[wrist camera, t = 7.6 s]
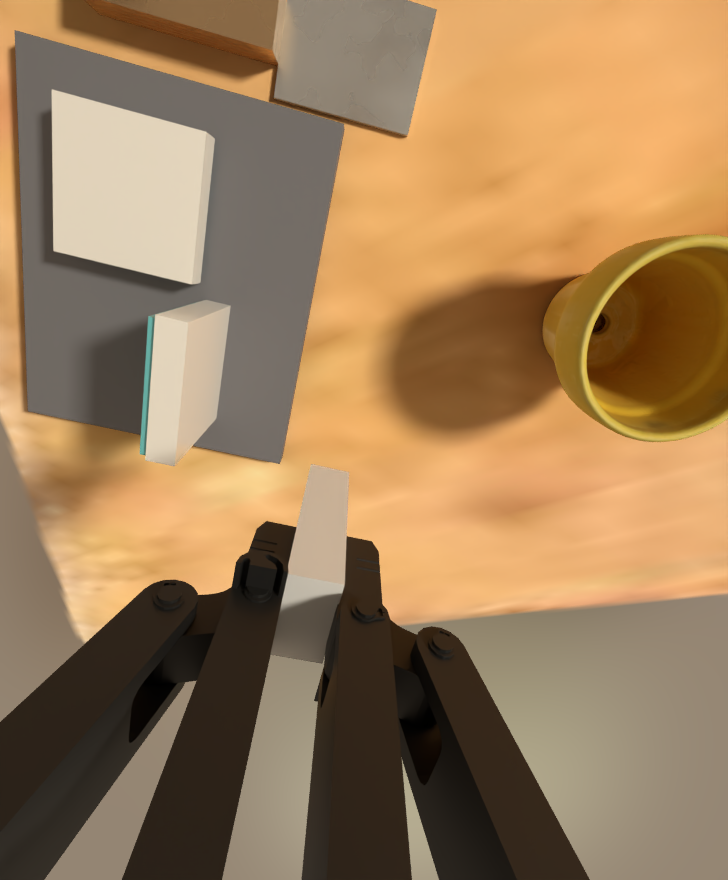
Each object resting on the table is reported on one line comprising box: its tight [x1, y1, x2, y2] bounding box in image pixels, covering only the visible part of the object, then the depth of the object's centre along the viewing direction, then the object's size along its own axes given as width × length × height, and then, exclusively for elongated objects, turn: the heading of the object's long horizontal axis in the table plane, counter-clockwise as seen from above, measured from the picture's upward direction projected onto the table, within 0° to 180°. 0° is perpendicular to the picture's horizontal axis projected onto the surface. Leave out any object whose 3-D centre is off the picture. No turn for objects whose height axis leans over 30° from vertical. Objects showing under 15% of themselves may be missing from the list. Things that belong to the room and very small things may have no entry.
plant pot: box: [542, 234, 728, 442], centre depth 27 cm, size 10×10×10 cm
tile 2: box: [140, 300, 231, 466], centre depth 28 cm, size 8×2×8 cm, turn 167°
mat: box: [15, 30, 344, 464], centre depth 30 cm, size 22×18×1 cm
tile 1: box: [52, 89, 215, 284], centre depth 27 cm, size 8×2×8 cm
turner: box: [85, 0, 437, 137], centre depth 25 cm, size 18×6×2 cm, turn 77°
